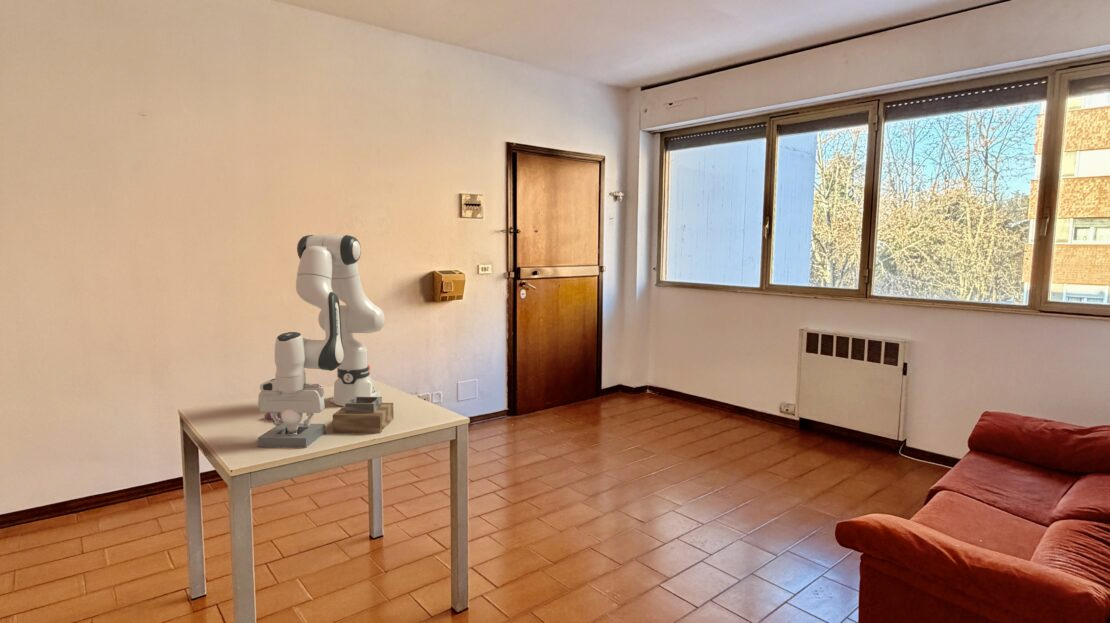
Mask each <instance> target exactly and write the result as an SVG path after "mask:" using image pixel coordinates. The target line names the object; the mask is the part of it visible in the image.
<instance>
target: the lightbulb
mask: <svg viewBox="0 0 1110 623" xmlns="http://www.w3.org/2000/svg"><path fill="white" fill-rule="evenodd" d="M303 417H304V413H296V412H295V411H293V410H286V411H284V412H282V415H281V418H282V421H283V423H284V424H285V425H286V427H287V430H288V433H289V434H297V430H298V426H299V423H302V420H303Z"/></svg>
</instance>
